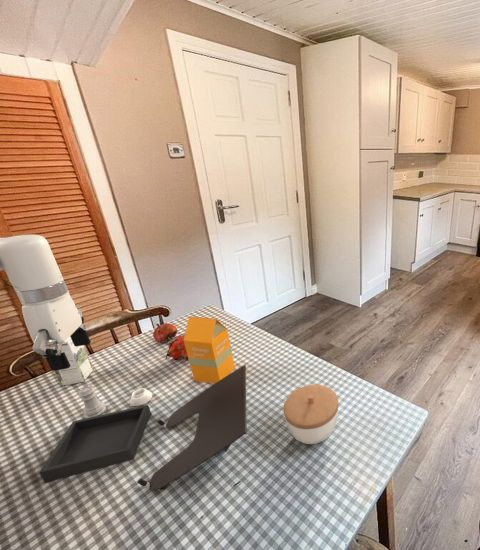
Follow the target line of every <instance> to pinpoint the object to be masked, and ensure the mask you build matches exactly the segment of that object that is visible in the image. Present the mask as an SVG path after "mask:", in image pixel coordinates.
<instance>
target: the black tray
mask: <svg viewBox="0 0 480 550" xmlns="http://www.w3.org/2000/svg"><path fill="white" fill-rule="evenodd" d="M151 415H152V412H151V409H150V406H149V404H144V405H139V406H134V407H131V408H126V409H122V410H118V411H117V410H116V411H113V412H108V413H102V414H101V415H99V416H94V417H90V418H86V417H84V418H82V419H77V420H72V422H71V424H70V425H69V427H68V428H67V430H66V431H65V433H64V434H63V436H62V437H61V439H60V440H59V442H58V443H57V445H56V446H55V448H54V450H52V452H51V454H50V455H49V456H48V458H47V459H46V461H45V462H44V464H43V466H42V467H41V469H40V471H39V472H38V474H39V476H40V477H41V479H42V481H43V483H45V484H46V483H49V482H50V483H51V482H53V481H54V482H55V481H57V480H60V479H65V478H68V477H73V476H76V475H79V474H84V473H88V472H91V471H95V470H99V469H102V468H106V467H109V466H110V467H111V466H115V465H117V464H122V463H125V462H129V461H132V460H134V459H135V457H136V455H137V454H136V453H137V451H138V449H139V447H140V444H141V441H142V438H143V436H144V433H145V430H146V428H147V426H148V423H149V421H150V417H151Z"/></svg>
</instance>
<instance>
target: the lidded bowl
mask: <svg viewBox="0 0 480 550" xmlns="http://www.w3.org/2000/svg"><path fill="white" fill-rule="evenodd" d="M283 415H284V418H285V423H286V426H287V429H288V431H289V433H290V435H291V436H292V437H293V438H294V439H295V440H296V441H298V442H300V443H302V444H306V445H317V444H320V443H321V442H323V441H325V440H326V439H327V438H329V436H331V434H332V433H333V431H334V430H335V427H336V425H337V422H338V417H339V416H338V415H339V398H338V395H337V393H336V392H335V390H333V389H332V388H331V387H330V386H326V385H323V384H314V383H313V384H307V385H304V386H301V387H299V388H296V389H295V390H294V391H292V392H291V393H290V394H289V395H288V396H287V398H286V400H285V402H284V403H283Z"/></svg>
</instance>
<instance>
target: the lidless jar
mask: <svg viewBox="0 0 480 550" xmlns="http://www.w3.org/2000/svg"><path fill="white" fill-rule="evenodd" d="M130 396H131V397H130V399H129V404H130V406H131V407H140V406H144V405H146V404H147V403H148V402H149V401H151V400H152V398H153V393H152V392H151V391H150V390H148V389H146V388H144V387H141V388H137V389H136V390H134V391H133V392H132V393H131V395H130Z"/></svg>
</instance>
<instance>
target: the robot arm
mask: <svg viewBox="0 0 480 550" xmlns="http://www.w3.org/2000/svg"><path fill="white" fill-rule="evenodd" d="M1 271H4V272H5V273H6V276H7V277H8V280H9V281H10V283H11V285H12V287H13V290H14V292H15V294H16V295H17V297H18V300H19V301H20V304H21V305H22V306H21V312H22V316H23V320H24V323H25V326H26V328H27V331H28V334H29V335H30V338H31V340H32V343H33V345H32V348H31V349H32V350H33V351H34V352H35V353H37V355H38V356H39V357H42V359H45V360H46V362H47V364H48V366H49V368H50V369H51V371H52V372H55V371H57V370H62V369H67V368H69V367H70V366H71V365H70V363H69V361H68V359H67V357H66V355H65V353H64V352H62V343H63V342H64V341H65V340H66V339H67V338H68V337H71V339H72V342H73V344H74V346H82V345H84V346H88V345H90V344H91V342H92V341H91V339H90V336H89V335H88V332H87V329H86V324H84V323H85V319H84V316H83V310H82V308H78V307H77V305H76V303H75V301H74V300H73V298H72V295H70V291H69V289H68V286H67V284H66V282H65V279H64V277H63V275H62V272H61V270H60V268H59V265H58V263H57V260H56V259H55V256H54V254H53V251H52V249H51V247H50V244H49V242H48V240H47V239H46V238H45V236H43V235H40V234H20V235H14V236H7V237H0V272H1ZM49 340H56V341H52V342H49ZM51 345H55V350H54V349H50V348H49V347H50V346H51ZM61 352H62V353H61Z"/></svg>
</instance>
